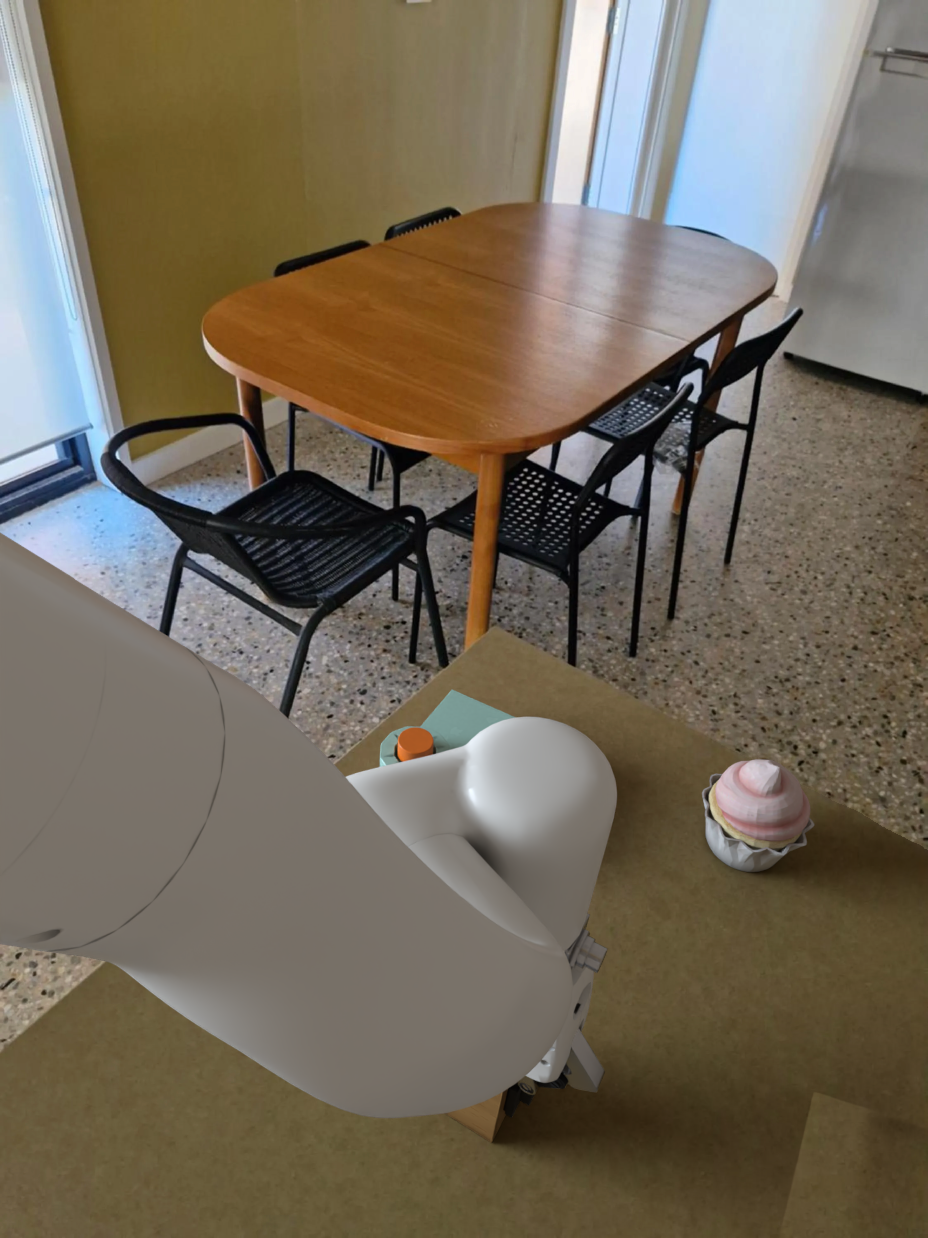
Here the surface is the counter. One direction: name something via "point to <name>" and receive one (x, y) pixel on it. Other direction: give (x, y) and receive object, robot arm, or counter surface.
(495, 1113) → the open wooden box
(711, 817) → the cupcake
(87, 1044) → the counter surface
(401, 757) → the button
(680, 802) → the counter surface
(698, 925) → the counter surface
